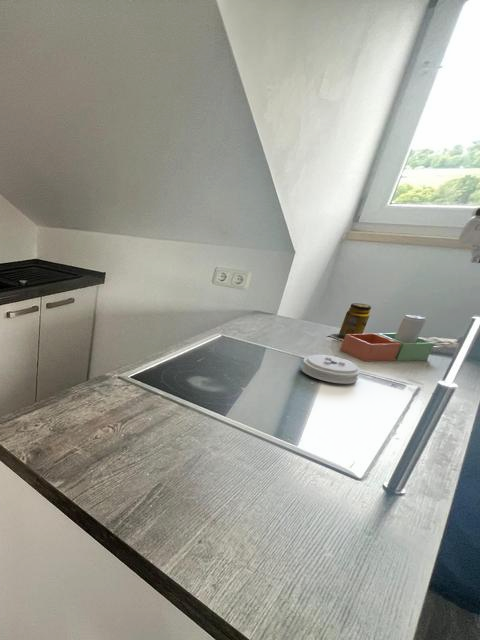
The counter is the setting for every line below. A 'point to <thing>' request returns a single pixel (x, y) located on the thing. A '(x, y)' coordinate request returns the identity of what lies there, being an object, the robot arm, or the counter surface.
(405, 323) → the beverage can
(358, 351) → the terracotta bin
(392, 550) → the counter surface
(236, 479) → the counter surface
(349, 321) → the condiment
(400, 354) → the green bin
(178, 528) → the counter surface
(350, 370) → the lid
